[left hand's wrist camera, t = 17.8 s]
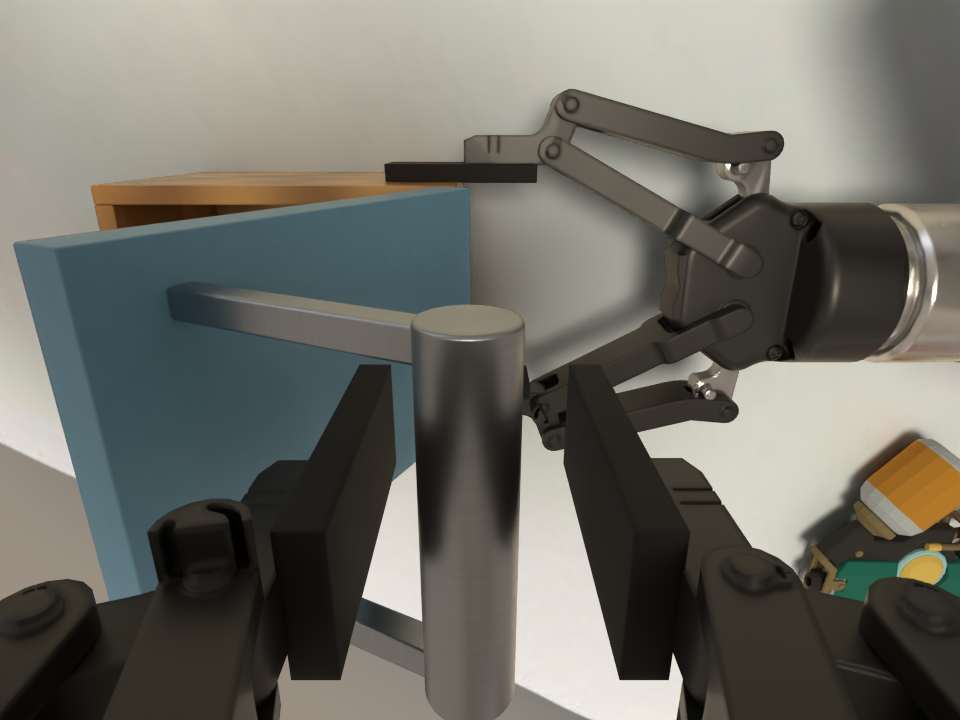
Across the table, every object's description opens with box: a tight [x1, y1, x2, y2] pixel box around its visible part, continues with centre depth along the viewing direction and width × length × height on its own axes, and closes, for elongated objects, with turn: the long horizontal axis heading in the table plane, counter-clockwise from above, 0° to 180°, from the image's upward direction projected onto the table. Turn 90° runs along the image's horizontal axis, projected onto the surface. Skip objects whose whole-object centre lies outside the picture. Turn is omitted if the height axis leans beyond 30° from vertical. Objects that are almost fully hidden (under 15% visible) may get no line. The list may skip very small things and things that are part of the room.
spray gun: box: [803, 439, 960, 602], centre depth 39 cm, size 4×17×15 cm
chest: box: [91, 172, 463, 231], centre depth 30 cm, size 14×10×10 cm, turn 90°
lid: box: [13, 187, 525, 720], centre depth 16 cm, size 15×10×9 cm
